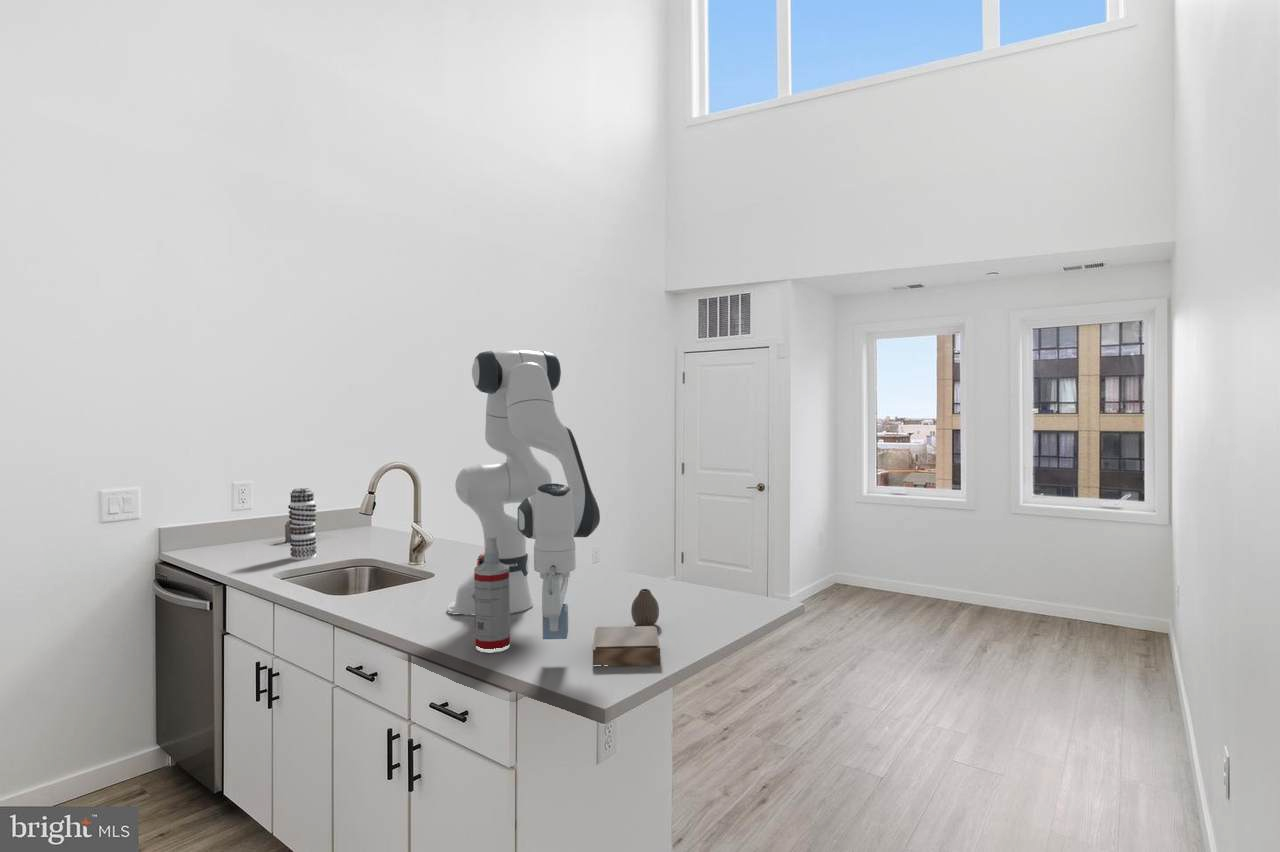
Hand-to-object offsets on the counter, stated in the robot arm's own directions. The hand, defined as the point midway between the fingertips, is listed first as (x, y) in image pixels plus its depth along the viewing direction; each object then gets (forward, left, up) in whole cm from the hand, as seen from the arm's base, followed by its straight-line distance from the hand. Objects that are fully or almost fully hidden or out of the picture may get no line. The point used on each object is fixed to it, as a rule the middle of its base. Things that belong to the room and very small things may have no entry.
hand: (555, 625), depth 150 cm
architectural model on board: (-117, +143, -8) cm, 185 cm away
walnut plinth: (+15, +3, -8) cm, 17 cm away
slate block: (0, 0, -2) cm, 2 cm away
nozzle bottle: (-15, +9, -8) cm, 19 cm away
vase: (+20, +23, -8) cm, 31 cm away
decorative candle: (-101, +109, -8) cm, 149 cm away
